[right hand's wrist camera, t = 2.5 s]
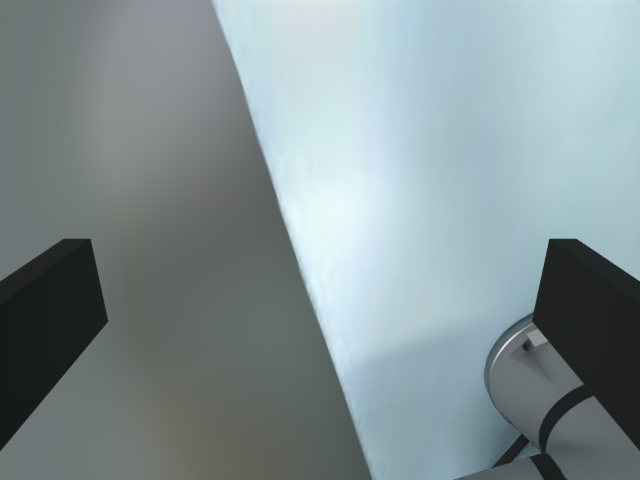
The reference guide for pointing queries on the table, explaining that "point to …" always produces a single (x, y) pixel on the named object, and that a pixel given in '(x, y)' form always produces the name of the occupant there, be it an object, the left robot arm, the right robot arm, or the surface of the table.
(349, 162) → the table surface
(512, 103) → the table surface
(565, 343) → the right robot arm
